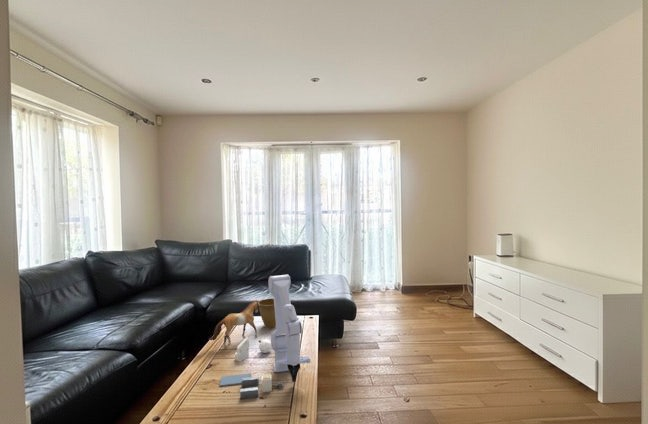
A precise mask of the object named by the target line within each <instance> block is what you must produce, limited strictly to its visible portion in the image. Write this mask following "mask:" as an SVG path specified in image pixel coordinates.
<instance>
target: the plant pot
mask: <svg viewBox="0 0 648 424" xmlns="http://www.w3.org/2000/svg"><path fill="white" fill-rule="evenodd" d="M257 302H258V301H257ZM258 305H259V306H258V309H259V310H258V311H259V313H260V318H261V320H262V323H263V325H264V327H265V328H267V329H268V328H270V329H271V328H275V327H276V319H275V308H274V298H273V297H271V298H264V299H262V300H259V302H258Z"/></svg>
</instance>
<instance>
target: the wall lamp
mask: <svg viewBox="0 0 648 424" xmlns="http://www.w3.org/2000/svg"><path fill="white" fill-rule="evenodd" d="M283 385H284V384H283V380H279V381H278V384H277V385H276V384H275V385H272V373H268V374H261V393H267V392H272V391H273V390H272V389H275V388H278V389H279V390H280V389H283V387H284V386H283Z"/></svg>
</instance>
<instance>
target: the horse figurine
mask: <svg viewBox="0 0 648 424" xmlns="http://www.w3.org/2000/svg"><path fill="white" fill-rule="evenodd" d="M259 301H260V300H259ZM259 301H258V300H254V301H251V302H250V303H249V304H248V305H247V306H246V307H245V308H244V309H243V310H242V311H241V312H240V313H228V314H227V315H226V316H225V317H224V318H223V319H222V320H220V321H219V322H218V323H217V325H216V326H215V327H214V331H213V335H212V336H211V337H209V338H208V340H209V341H216V340H217V339H218V337H219V336H220V334H221V332H222V329H223V328H222V327H223V326H225V329H226V330H225V332H224V336H223V339H224V340H223V344H222V346H223V349H224V350H225V349H227V348H228V346H227V345H226V341H227V340H228V341H227V342H228V344H231V343H232V340H231V338H230V334H231V332H232V330H233V328H235V326H243V329H242V337H243V338H242V339H243V340H244V339H245V338H246V337H247V336H245V333H246V326H247V324H249V325H250V326H251V327H252V329H253V330H254V337H256V338H258V331H257V327H256V325H255V322H254V320H255V317H254V312H255V314H256V313H258V312H259V310H258V309H259V305H258V302H259Z"/></svg>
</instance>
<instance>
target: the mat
mask: <svg viewBox="0 0 648 424" xmlns="http://www.w3.org/2000/svg"><path fill="white" fill-rule="evenodd" d="M249 377H252V372H250V373H242V374H241V373H240V374H233V375H232V374H231V375H223V376H221V379H220V383H219V387H221V388H222V387H228V386H236V385H237V386H239V385H242V378H249Z"/></svg>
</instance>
